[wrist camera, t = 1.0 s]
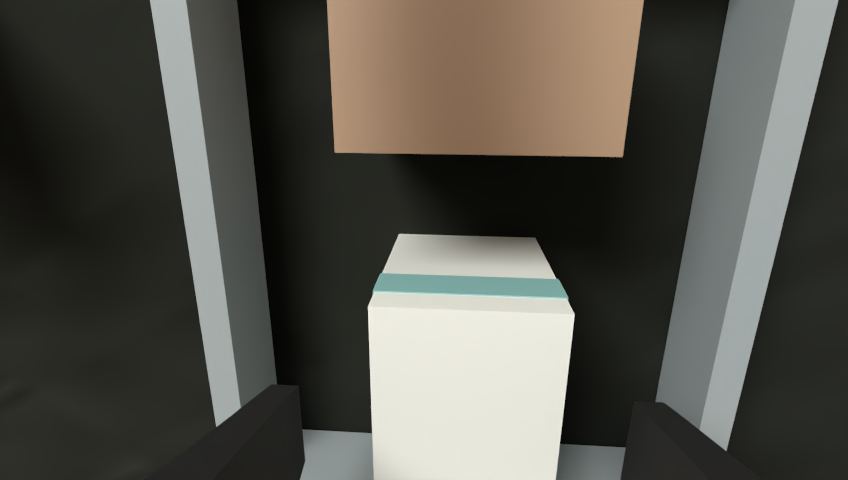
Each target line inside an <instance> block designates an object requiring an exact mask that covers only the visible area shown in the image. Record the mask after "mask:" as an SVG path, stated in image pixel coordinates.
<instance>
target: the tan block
mask: <svg viewBox="0 0 848 480" xmlns="http://www.w3.org/2000/svg"><path fill="white" fill-rule="evenodd" d="M643 2H644V0H327V10H328V30H329V49H330V68H331V88H332V107H333V127H334V146H335V153H395V154H459V155H524V156H588V157H623V151H624V143H625V136H626V129H627V121H628V114H629V106H630V99H631V91H632V84H633V77H634V69H635V62H636V54H637V47H638V39H639V32H640V25H641V17H642V10H643Z"/></svg>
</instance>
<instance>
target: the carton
mask: <svg viewBox="0 0 848 480" xmlns="http://www.w3.org/2000/svg"><path fill="white" fill-rule="evenodd" d="M574 317H575V314H574V312H573V310H572V308H571V306H570V304H569V302H568V296H567V294H566V292H565V290H564V288H563V286H562V284H561V283H560V281H559V279H556V277H555V275H554V273H553V271H552V269H551V267H550V265H549V263H548V262H547V260H546V258H545V256H544V254H543V252H542V250H541V248H540V246H539V244H538V242H537V240H536V238H529V237H492V236H455V235H418V234H399V235H398V238H397V240H396V242H395V245H394V247H393V249H392V252H391V254H390V256H389V259H388V261H387V263H386V266H385V268H384V270H383V273H380V275H379V278H378V280H377V282H376V284H375V287H374V289H373V296H372V298H371V301H370V303H369V305H368V321H369V351H370V381H371V411H372V440H373V470H374V480H556V473H557V464H558V456H559V447H560V438H561V430H562V421H563V412H564V404H565V395H566V386H567V378H568V369H569V360H570V352H571V343H572V334H573V326H574Z"/></svg>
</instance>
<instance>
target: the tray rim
mask: <svg viewBox="0 0 848 480" xmlns="http://www.w3.org/2000/svg"><path fill="white" fill-rule="evenodd" d="M150 3H151V9H152V15H153V22H154V28H155V35H156V41H157V48H158V54H159V61H160V67H161V73H162V80H163V86H164V93H165V99H166V106H167V112H168V119H169V125H170V131H171V138H172V144H173V151H174V157H175V164H176V170H177V177H178V183H179V189H180V196H181V202H182V209H183V215H184V222H185V228H186V234H187V241H188V247H189V254H190V260H191V267H192V273H193V280H194V286H195V292H196V299H197V305H198V312H199V318H200V325H201V331H202V338H203V344H204V350H205V357H206V363H207V370H208V376H209V383H210V389H211V395H212V402H213V408H214V415H215V421H216V427H217V426H218V425H220V424H221V423H222V422H224V421H225V420H226V419H228V418H229V417H230V416H231V415H233V414H234V413H235V412H236V411H238V410H239V409H240V408H242V407H243V406H244V405H245V404H247V403H248V402H249V401H250V400H252V399H253V398H254V397H255V396H257V395H258V394H259V393H261V392H262V391H263V390H265V389H266V388H267V387H269V386H270V385H272V384H275V385H277V380H276V370H275V360H274V351H273V341H272V332H271V322H270V312H269V303H268V293H267V284H266V274H265V265H264V255H263V245H262V236H261V226H260V217H259V207H258V197H257V188H256V178H255V169H254V159H253V150H252V140H251V130H250V121H249V111H248V102H247V92H246V83H245V73H244V63H243V54H242V44H241V35H240V25H239V15H238V6H237V0H150ZM837 3H838V0H729V6H728V11H727V16H726V22H725V27H724V33H723V38H722V44H721V49H720V54H719V60H718V65H717V71H716V76H715V82H714V87H713V92H712V98H711V103H710V109H709V114H708V119H707V125H706V130H705V136H704V141H703V147H702V152H701V157H700V163H699V168H698V174H697V179H696V185H695V190H694V195H693V201H692V206H691V212H690V217H689V222H688V228H687V233H686V239H685V244H684V250H683V255H682V260H681V266H680V271H679V277H678V282H677V287H676V293H675V298H674V304H673V309H672V315H671V320H670V325H669V331H668V336H667V342H666V347H665V353H664V358H663V363H662V369H661V374H660V380H659V385H658V390H657V396H656V401H655V402H663V403H665V404H666V405H668V406H669V407H671V408H672V409H673V410H675V411H676V412H677V413H679V414H680V415H681V416H682V417H684V418H685V419H686V420H688V421H689V422H690V423H691V424H693V425H694V426H695V427H696V428H698V429H699V430H700V431H702V432H703V433H704V434H705V435H707V436H708V437H709V438H710V439H712V440H713V441H714V442H715V443H717V444H718V445H719V446H720V447H722V448H723V449H724V450H727V446H728V442H729V438H730V434H731V430H732V426H733V422H734V418H735V414H736V410H737V406H738V402H739V398H740V394H741V390H742V386H743V382H744V378H745V374H746V370H747V366H748V362H749V358H750V354H751V350H752V346H753V342H754V338H755V334H756V330H757V326H758V322H759V318H760V314H761V309H762V305H763V301H764V297H765V293H766V289H767V285H768V281H769V277H770V273H771V269H772V265H773V261H774V257H775V253H776V249H777V245H778V241H779V237H780V233H781V229H782V225H783V221H784V217H785V213H786V209H787V205H788V201H789V197H790V193H791V189H792V185H793V181H794V177H795V173H796V169H797V164H798V160H799V156H800V152H801V148H802V144H803V140H804V136H805V132H806V128H807V124H808V120H809V116H810V112H811V108H812V104H813V100H814V96H815V92H816V88H817V84H818V80H819V76H820V72H821V68H822V64H823V60H824V56H825V52H826V48H827V44H828V40H829V36H830V32H831V28H832V24H833V19H834V15H835V11H836V7H837ZM302 430H303V441H304V452H305V464H304V467H303V471H302V474H301V478H300V480H374V470H373V440H372V433H357V432H339V431H322V430H304V429H302ZM624 454H625V448H624V447H606V446H589V445H571V444H560V447H559V456H558V464H557V473H556V480H621V479H620V478H621V472H622V466H623V460H624Z"/></svg>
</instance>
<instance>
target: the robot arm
mask: <svg viewBox="0 0 848 480" xmlns="http://www.w3.org/2000/svg"><path fill="white" fill-rule="evenodd" d="M304 464H305V452H304V441H303V430H302V418H301V407H300V396H299V386H297V385H275V384H272V385H270V386H269V387H267V388H266V389H265V390H263V391H262V392H261V393H259V394H258V395H257V396H255V397H254V398H253V399H252V400H250V401H249V402H248V403H247V404H245V405H244V406H243V407H242V408H240V409H239V410H238V411H236V412H235V413H234V414H233V415H231V416H230V417H229V418H228V419H226V420H225V421H224V422H222V423H221V424H220V425H218V426H217V427H216V428H215V429H213V430H212V431H211V432H209V433H208V434H207V435H205V436H204V437H203V438H202V439H200V440H199V441H198V442H196V443H195V444H194V445H192V446H191V447H189V448H188V449H187V450H185V451H184V452H182V453H181V454H180V455H178V456H177V457H175V458H174V459H172V460H171V461H170V462H168V463H167V464H165V465H164V466H163V467H161V468H160V469H158V470H157V471H155V472H154V473H153V474H151V475H150V476H148V477H147V478H146V479H144V480H300V478H301V474H302V471H303V467H304ZM620 479H621V480H763V479H762V478H761V477H759V476H758V475H757V474H755V473H754V472H753V471H751V470H750V469H749V468H747V467H746V466H745V465H744V464H742V463H741V462H740V461H738V460H737V459H736V458H734V457H733V456H732V455H731V454H729V453H728V452H727V451H726V450H724V449H723V448H722V447H720V446H719V445H718V444H717V443H715V442H714V441H713V440H712V439H710V438H709V437H708V436H707V435H705V434H704V433H703V432H702V431H700V430H699V429H698V428H696V427H695V426H694V425H693V424H691V423H690V422H689V421H688V420H686V419H685V418H684V417H682V416H681V415H680V414H679V413H677V412H676V411H675V410H673V409H672V408H671V407H669V406H668V405H666V404H665V403H663V402H644V401H633V407H632V413H631V419H630V425H629V431H628V437H627V443H626V448H625V454H624V460H623V466H622V472H621V478H620Z"/></svg>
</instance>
